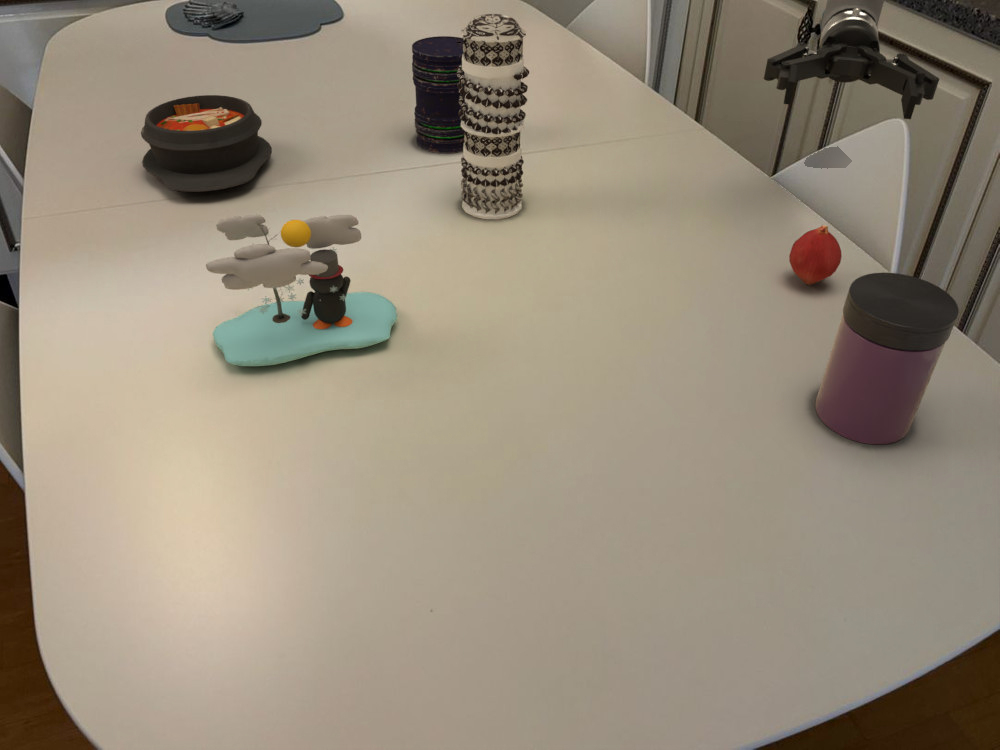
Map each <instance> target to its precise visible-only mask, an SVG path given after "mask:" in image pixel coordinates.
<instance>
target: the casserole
mask: <svg viewBox="0 0 1000 750" xmlns="http://www.w3.org/2000/svg"><path fill="white" fill-rule="evenodd" d="M262 122H263V120H262V119H261V117H260V116H259V115H258V114H257V113H256V112H255V111H254V109H253V107H252V105H251V104H250V103H249V102H247V100H243V99H241V98H238V97H234V96H229V95H219V94H217V95H216V94H207V95H206V94H204V95H202V94H201V95H192V96H186V97H180V98H176V99H171V100H169V101H166V102H163V103H160V104H159V105H157V106H155V107H153V108H152V109H151V110H149V111H148V112H147V113H146V115H145V117H144V124H143V125H144V126H143V127H142V128H141V131H140V135H141V138H142V139H143V140H144V142H145V143H147V144H148V145H149V147H150V149H148V150H147V151H146V152H145V154H144V156H143V158H142V162H141V163H142V167H143V168H144V169H145V171H146V172H147V173H149V174H150V175H153V177H155V178H157V179H159V180H160V181H161V182H162V183H163V184H164V186H165V187H166V188H167V189H170V190H173V191H176V192H183V193H193V192H194V193H200V192H201V193H202V192H213V191H219V190H226V189H230V188H234V187H238V186H241V185H244V184H246V183H248V182H250V181H251V180H253V179H254V178H255V177H256V175H257V173H258V171H259V169H260V168H261V166H262V165H264V164H265V163H266V161H268V159H269V158H270V157H271V155H272V154H273V153H272V151H273V150H272V146H271V144H270V142H268V140H266V139H264V137H262V136H259V131H260V129H261V128H262Z"/></svg>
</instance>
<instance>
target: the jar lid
mask: <svg viewBox="0 0 1000 750" xmlns="http://www.w3.org/2000/svg"><path fill="white" fill-rule="evenodd" d="M959 312H960V310H959V306H958V303H957V301H956V300H955V299H954V297H953V296H952V295H951V294H949V293H948V292H947V291H946V290H944V289H943V288H941V287H940V286H938V285H936V284H934V283H932V282H929V281H927V280H924V279H922V278H920V277H916V276H912V275H908V274H905V273H904V274H903V273H897V272H873V273H867V274H863V275H861V276H859V277H857V278H855V279H854V280H853V281H852V283H851V284H850V286H849V289H848V292H847V295H846V297H845V301H844V304H843V308H842V315H843V316H844V318H845V320H846V322H847V323H848V325H849V326H850V327H851V328H852V329H853V330H854V331H856V332H857V333H858V334H860V335H861V336H863V337H865V338H867V339H869V340H871V341H873V342H875V343H878V344H881V345H883V346H887V347H891V348H895V349H901V350H911V351H920V350H929V349H933V348H936V347H939V346H941V345H942V344H944V343H945V344H946V342H947V341H948V340H949V338H950V336H951V333H952V331H953V328H954V326H955V324H956V322H957V319H958V317H959ZM945 344H944V345H945Z"/></svg>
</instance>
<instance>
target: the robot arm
mask: <svg viewBox="0 0 1000 750" xmlns="http://www.w3.org/2000/svg"><path fill="white" fill-rule="evenodd" d="M884 3H885V0H827V1H826V3H825V4H826V5H825V8H824V10H823V12H822V14H821V20H820V23H819V29H820V38H819V48H818V49H817V50H813V49H812V50H810V47H809V46H807V43H805V42H797V43H796V45H795V46H794V47H792V48H790V49H787V50H785V51H783V52H781V53H778V54H776V55H773V56H771V57H769V58H766V59H767V60H766V64H765V68H764V69H765V70H764V74H763V80H764V81H767V82H770V81H775V80H777V82H776V87H775V88H776V90H778V91H785V92H784V98H783V105H791V102H792V99H793V98H792V97H793V94H794V89H795V85H796V82H799V81H800V82H801V81H803V80H808V79H812V78H818V79H820V80H823V79H827V78H828V79H830V80H832V81H834V82H837V83H844V84H845V83H846V84H847V83H852V82H853V83H854V82H857V81H861V82H863V83H865V84H868V85H879V86H881V87H883V88H886V89H888V90H890V91H892V92H894V93H897V94H899V95H900V96H901V98H900V101H901V108H902V115H903V119H904V120H912V117H913V113H914V110H915V108H916V106H920V105H922V102H923V99H924V100H927V101H932V100H934V97H935V94H936V91H937V88H938V85H939V82H940V77H938V76H936V75H934V74H933V73H932V72H930V71H928V70H927V69H925V68H924V67H922V66H921V65H918V64H917V63H915V62H914V61H912V60H911V59H910V58H909V57H908V55H907V54H905V53H902V52H900V53H897V54H896V56H894V57H893V59H892V58H886V56H885V55H883V54H882V53H881V48H880V38H879V28H878V27H879V26H878V25H879V21H880V17H881V13H882V10H883V6H884Z"/></svg>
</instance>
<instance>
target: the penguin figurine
mask: <svg viewBox="0 0 1000 750" xmlns="http://www.w3.org/2000/svg"><path fill="white" fill-rule="evenodd" d="M265 223H266V218H265V217H264V216H262V215H260V214H249V215H243V216H240V215H235V216H229V217H226V218H223V219H221V220H219V221H218V222H217V224H216V230H217V231H218V232H220V233H222V234H224V236H225V237H226V239H227V240H228V241H240V240H244V239H246V238H261V237H265V240H266V243H256V244H251V245H247V246H243V247H241V248H238V249H236V250H234V251H233V255H234V256H229V257H222V258H218V259H213V260H212V261H209V262H206V264H205V268H206V270H207V271H208V272H210V273H212V274H219V275H223V276H222V277H221V283H222V284H223V285H224V288H225V289H226V290H231V291H233V290H234V291H235V290H236V291H237V290H247V291H248V292H249V291H250V289H254V288H256V287H258V286H260V285H262V286H263V288H266V289H272V290H273V293H274V297H275V302H272V301H271V297H267V296H266V295H265V297H263V298H261V300H262V301H261V302H262V303H264V304H261V305H260V306H256V307H253V308H251V309H249V310H248V311H245V312H244V313H242V314H240V315H238V316H236V317H233V318H231V319H228V320H225V321H222V322H221V323H219V324H218V325H217V326H216V327H215V328H214V330H213V331H212V337H213V340H214V343H215V345H216V346H217V347H218V349H219V350H220V351H221V352H222V354H223V356H224V359H225V361H226V362H227V363H228V364H230V365H234V366H239V367H267V366H275V365H280V364H284V363H289V362H292V361H295V360H300V359H302V358H306V357H308V356H309V357H311V356H314V355H316V354H320V353H325V352H329V351H337V350H354V349H362V348H367V347H370V346H373V345H377V344H379V343H382V342H385V341H387V340H388V339H390V338H391V331H392V327H393V326H394V325H395V324H396V321H397V319H398V313H397V307H396V305H395V304H394V303H393V302H392V301H391V300H389V299H388V298H387V297H385V296H384V295H381V294H379V293H375V292H370V291H357V292H356V291H355V292H348V291H349V288H350V286H351V282H352V281H351V278H350V277H349V276H344V277H343V275H342V274H343V272H344V267H343V266H342V265H340V264H339V259H338V251H337V248H335V247H334V246H333V245H339V246H345V245H352V244H356V243H359V242H360V241H362V232H361V230H360V229H359V228H357V227H355V226H358V225H359V220H358V218H357V217H356V216H354V215H352V214H337V215H330V216H325V215H321V216H313V217H309V218H307V219H304V220H301V219H291V220H288V221H286V222H285V223H284V224H283V225H282V226H281V229H280V237H281V240H282V242H283V243H284V244H285V245H287V246H288V247H291V248H281V249H276V247H274V246H273V245H271V244H270V241H271V240H273V241H275V240H276V237H277V236H278V235H279V233H276V234H275V235H274V236H273V237H272V238H270V239H268V237H270V235H269V233H270V232H269V228H268V226H267V225H265ZM267 236H268V237H267ZM305 245H306V247H307V248H308V249H312V250H315V249H318V250H315V251H313V252H311V251H309V250H308V249H304V248H301V247H304V246H305ZM331 246H333V247H332V248H330V249H324V248H327V247H331ZM298 275H300V276H309V277H310V278H309V286H310V288H311V289H312V290H313V291H308V292H307V293H306V296H305V299H304V300H294V299H298V297H296V296H297V294H293V293H291V292H292V291H295V289H294V287H295V286H294V285H292V286H290V285H291V284H292V283H295V282H296V281H297V282H296V284H297V285H298V284H299V285H300V286H302V284H304V283H305V282H303V281H304V279H301V278H300V277H299V280H297V277H296V276H298ZM278 288H279V290H278ZM282 288H284V289H285V294H286V293H291V294H287V297H288V298H287V299H288V300H284V299H285V297H282V296H283V295H284V290H282ZM280 291H281V294H280V295H279V292H280Z"/></svg>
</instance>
